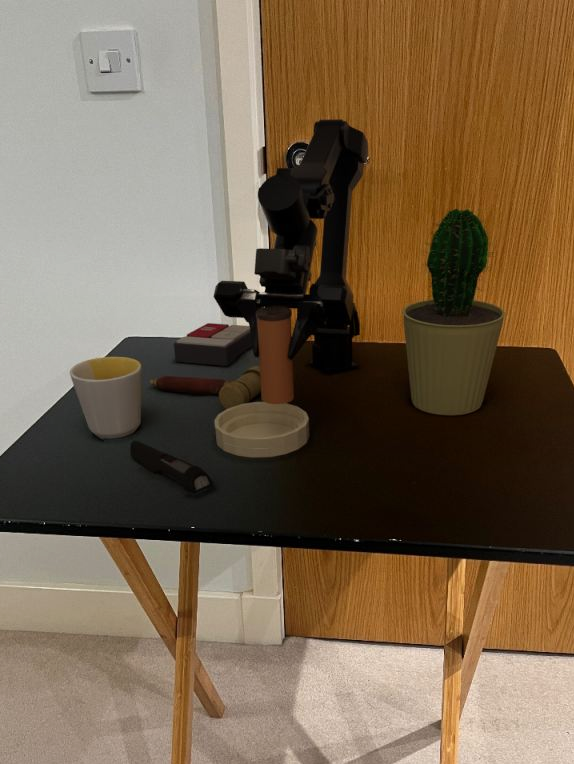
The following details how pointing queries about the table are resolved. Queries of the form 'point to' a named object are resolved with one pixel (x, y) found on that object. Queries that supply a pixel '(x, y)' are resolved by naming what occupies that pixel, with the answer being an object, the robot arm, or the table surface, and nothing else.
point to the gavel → (216, 387)
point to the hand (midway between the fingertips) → (272, 357)
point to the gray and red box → (213, 344)
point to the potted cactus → (453, 322)
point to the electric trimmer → (171, 467)
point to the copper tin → (275, 354)
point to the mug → (109, 394)
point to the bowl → (261, 429)
